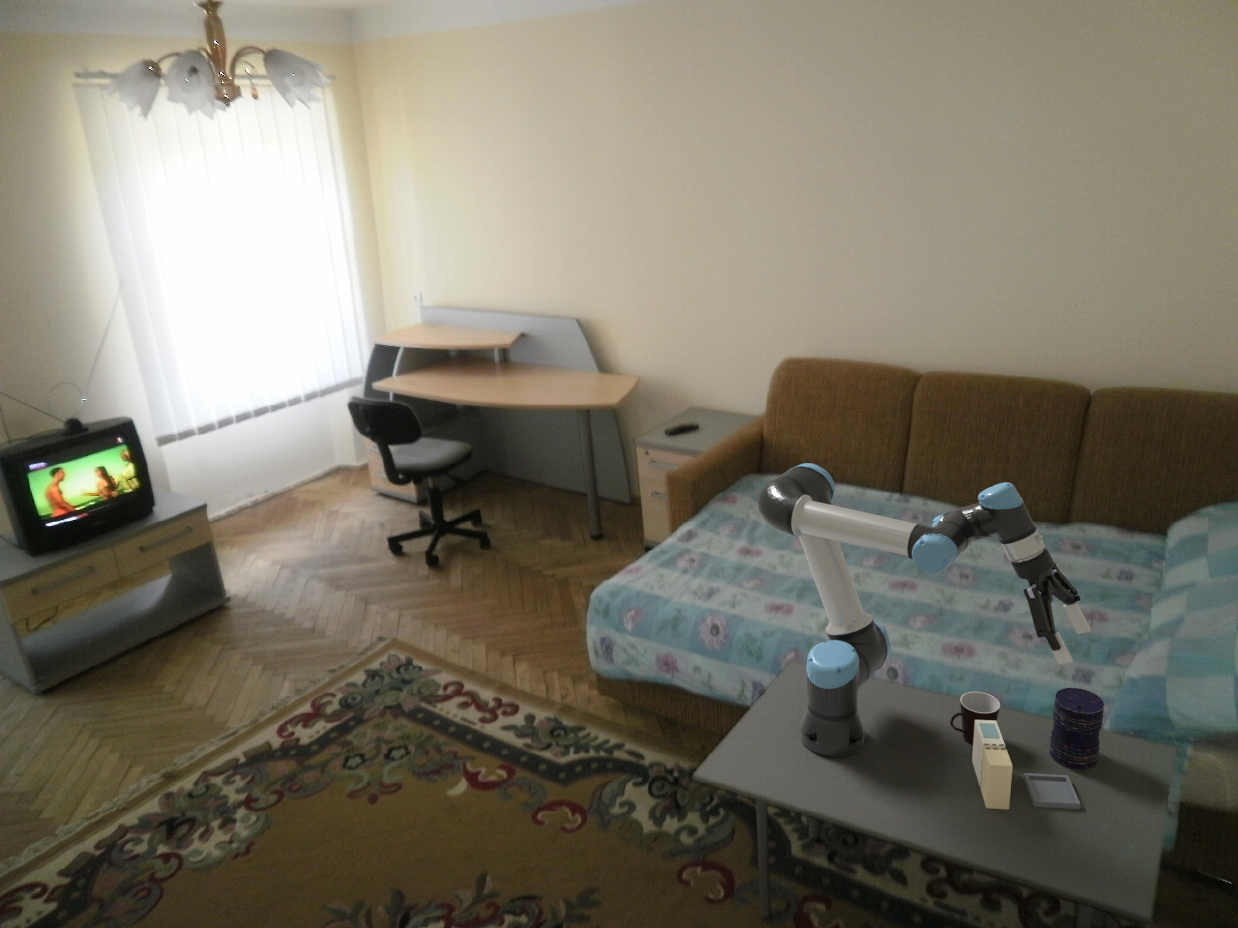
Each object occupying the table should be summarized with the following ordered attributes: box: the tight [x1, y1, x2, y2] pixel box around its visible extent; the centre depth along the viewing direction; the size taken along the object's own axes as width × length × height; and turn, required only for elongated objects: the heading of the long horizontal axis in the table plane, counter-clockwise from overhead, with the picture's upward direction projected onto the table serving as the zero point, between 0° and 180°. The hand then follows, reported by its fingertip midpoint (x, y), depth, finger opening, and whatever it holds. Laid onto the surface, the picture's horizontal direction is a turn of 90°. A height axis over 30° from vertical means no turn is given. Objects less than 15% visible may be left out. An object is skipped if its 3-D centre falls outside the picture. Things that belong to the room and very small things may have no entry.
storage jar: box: [1049, 687, 1105, 772], centre depth 199 cm, size 10×10×15 cm
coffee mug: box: [949, 691, 1001, 746], centre depth 209 cm, size 12×9×10 cm
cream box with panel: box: [971, 720, 1006, 788], centre depth 196 cm, size 4×9×11 cm, turn 170°
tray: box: [1023, 772, 1081, 810], centre depth 191 cm, size 9×9×1 cm
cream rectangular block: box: [980, 747, 1013, 810], centre depth 189 cm, size 4×6×11 cm
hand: (1075, 647), depth 183 cm, fingers open, 13 cm apart
